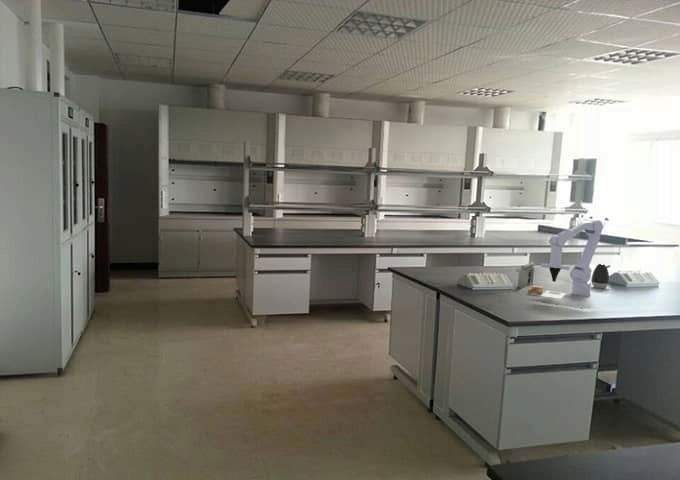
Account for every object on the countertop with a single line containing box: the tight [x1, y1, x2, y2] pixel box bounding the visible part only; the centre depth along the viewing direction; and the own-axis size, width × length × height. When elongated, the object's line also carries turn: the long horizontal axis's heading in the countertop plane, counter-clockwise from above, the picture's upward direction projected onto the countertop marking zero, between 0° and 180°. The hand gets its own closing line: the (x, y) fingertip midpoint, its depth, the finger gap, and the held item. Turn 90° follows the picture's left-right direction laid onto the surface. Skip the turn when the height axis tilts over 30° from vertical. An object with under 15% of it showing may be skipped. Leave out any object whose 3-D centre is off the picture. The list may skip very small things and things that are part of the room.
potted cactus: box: [590, 263, 611, 290], centre depth 329 cm, size 10×10×15 cm
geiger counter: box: [515, 261, 535, 289], centre depth 328 cm, size 14×6×25 cm
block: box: [531, 285, 544, 296], centre depth 297 cm, size 5×5×4 cm
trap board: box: [526, 287, 567, 300], centre depth 298 cm, size 18×18×4 cm
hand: (554, 281), depth 293 cm, fingers closed
